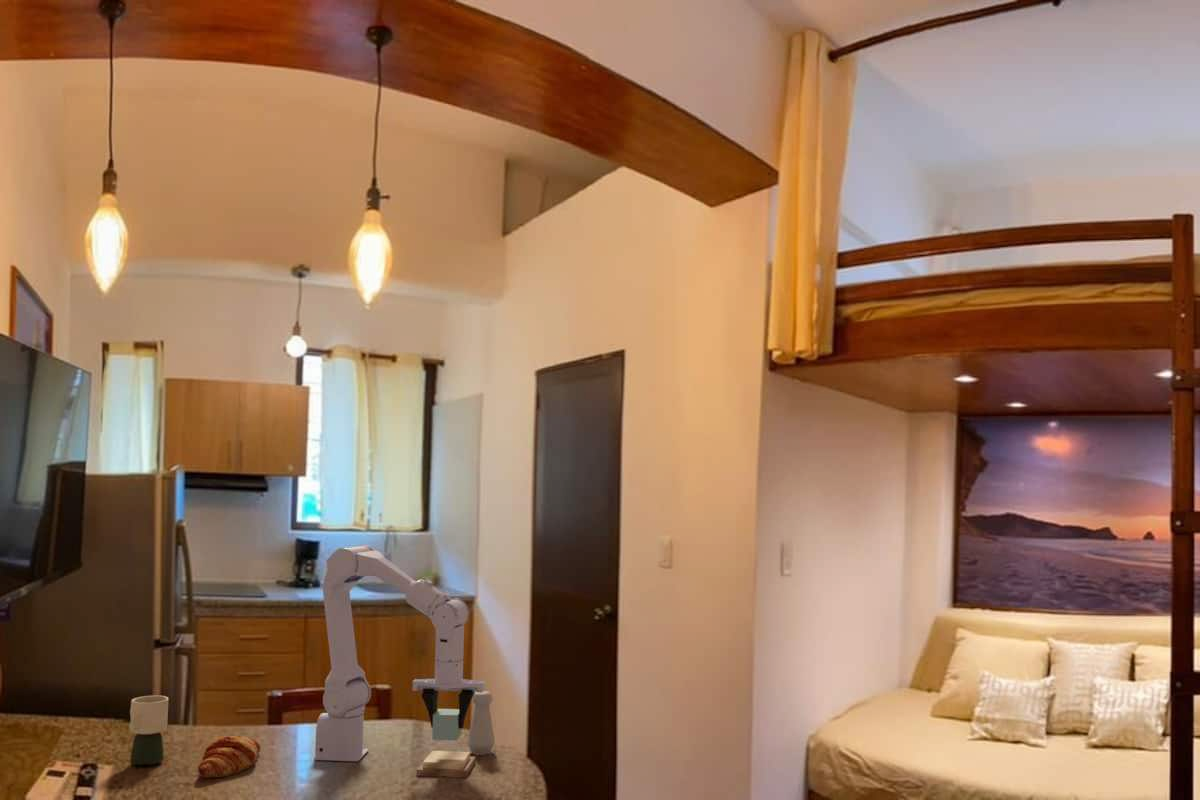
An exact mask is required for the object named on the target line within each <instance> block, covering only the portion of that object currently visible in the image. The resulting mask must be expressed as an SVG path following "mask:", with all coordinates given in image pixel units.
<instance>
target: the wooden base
mask: <svg viewBox="0 0 1200 800" xmlns="http://www.w3.org/2000/svg"><path fill="white" fill-rule="evenodd" d="M474 763H475V764H476V756H471V751H456V750H455V751H451V750H450V751H449V750H431V751H430V752H429V754H428V755H427V756H426V757H425V758H424V760H423V761H422V762H421V764H419V766H418V767H417V768H416V776H417V777H419V776H421V777H441V776H447V777H448V778H467V777H466V776H468V775H469V774H470V772H469V771H471V770H472V769H473V767H474V765H475V764H474ZM473 764H474V765H473ZM472 766H473V767H472ZM471 768H472V769H471ZM470 769H471V770H470Z"/></svg>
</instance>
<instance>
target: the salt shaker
mask: <svg viewBox="0 0 1200 800" xmlns="http://www.w3.org/2000/svg"><path fill="white" fill-rule="evenodd" d="M471 701H472V703H473V704H474V707H473V712H472V713H473V714H472V718H471V723H470V727H469V732H468V739H467V746H468V748H469V750H470V751H469V752H470V753H471V752H472V753H473V754H476V755H475V756H478V755H484V756H486V755H485V754H489V755H490V754H491V752H492V750H493V748H494V746H495V743H496V741H495V735H494V729H493V728H494V727H493V722H492V715H491V706H490V704H491V703H492V702H493V693H492V692H491V691H487V690H484V691H483V693H478V692H475V693H474V695H473V697H472V699H471ZM472 753H471V754H472ZM473 754H472V755H473ZM477 754H478V755H477Z"/></svg>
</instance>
